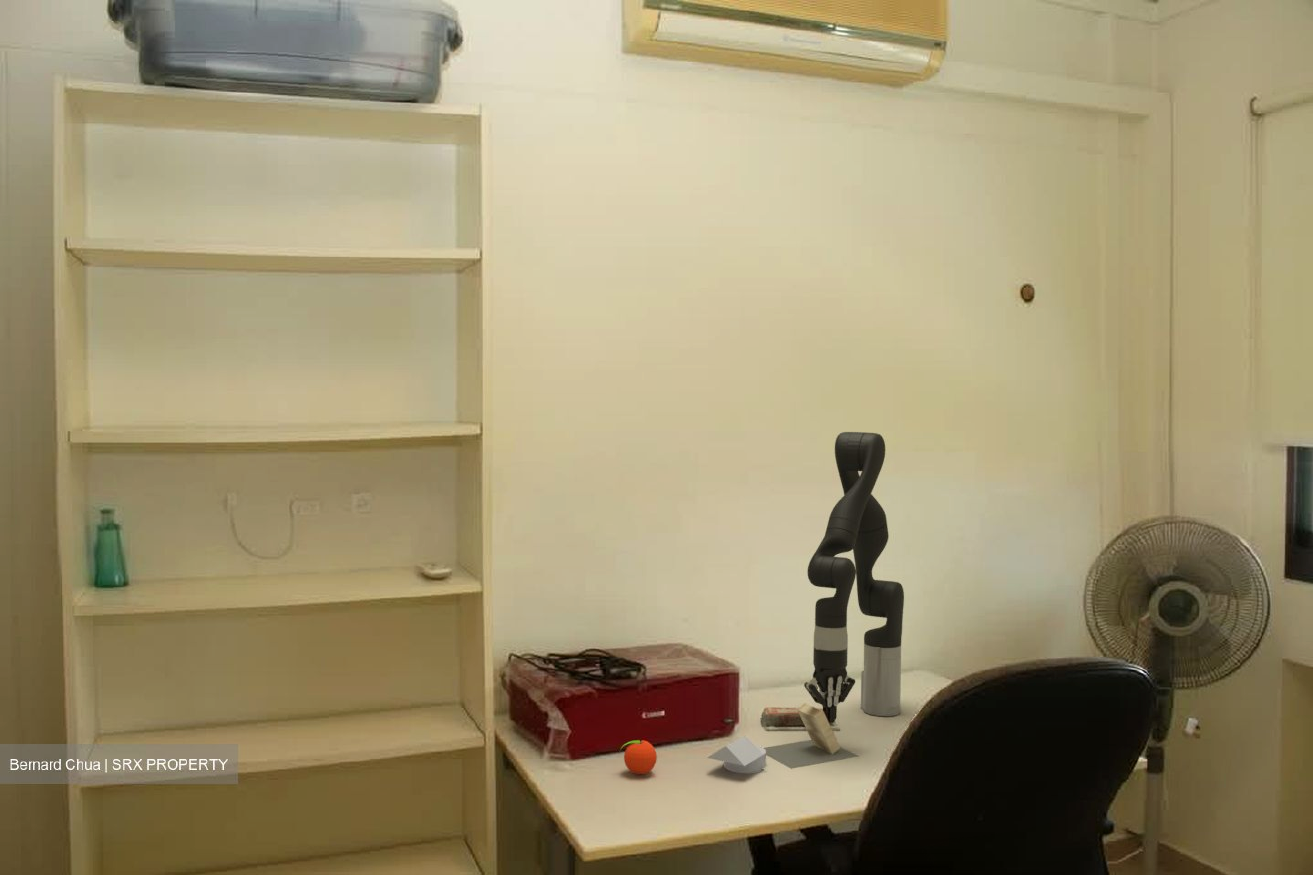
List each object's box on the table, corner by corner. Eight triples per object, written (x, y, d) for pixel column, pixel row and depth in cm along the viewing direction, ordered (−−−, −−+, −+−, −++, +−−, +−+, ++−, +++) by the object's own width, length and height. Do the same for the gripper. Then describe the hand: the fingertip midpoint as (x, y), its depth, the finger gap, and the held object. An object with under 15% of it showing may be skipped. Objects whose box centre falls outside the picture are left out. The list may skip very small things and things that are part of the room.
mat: (755, 751, 246) (755, 749, 246) (821, 740, 254) (821, 737, 254) (791, 770, 234) (791, 768, 234) (859, 758, 242) (859, 755, 242)
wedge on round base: (744, 781, 227) (773, 764, 238) (744, 749, 227) (773, 733, 238) (706, 773, 232) (736, 756, 243) (707, 741, 232) (736, 726, 243)
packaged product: (765, 715, 259) (760, 703, 269) (764, 735, 259) (759, 722, 269) (841, 714, 260) (833, 703, 270) (840, 735, 260) (832, 722, 270)
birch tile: (813, 745, 249) (797, 709, 247) (822, 738, 250) (805, 702, 248) (832, 754, 243) (815, 717, 240) (840, 747, 244) (823, 710, 241)
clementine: (618, 778, 228) (618, 745, 228) (619, 767, 235) (619, 734, 235) (656, 779, 228) (656, 745, 228) (656, 767, 235) (657, 735, 235)
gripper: (844, 639, 252) (842, 713, 253) (796, 644, 246) (795, 721, 246) (864, 645, 245) (863, 722, 246) (816, 651, 239) (815, 730, 240)
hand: (829, 721), depth 246 cm, fingers closed
